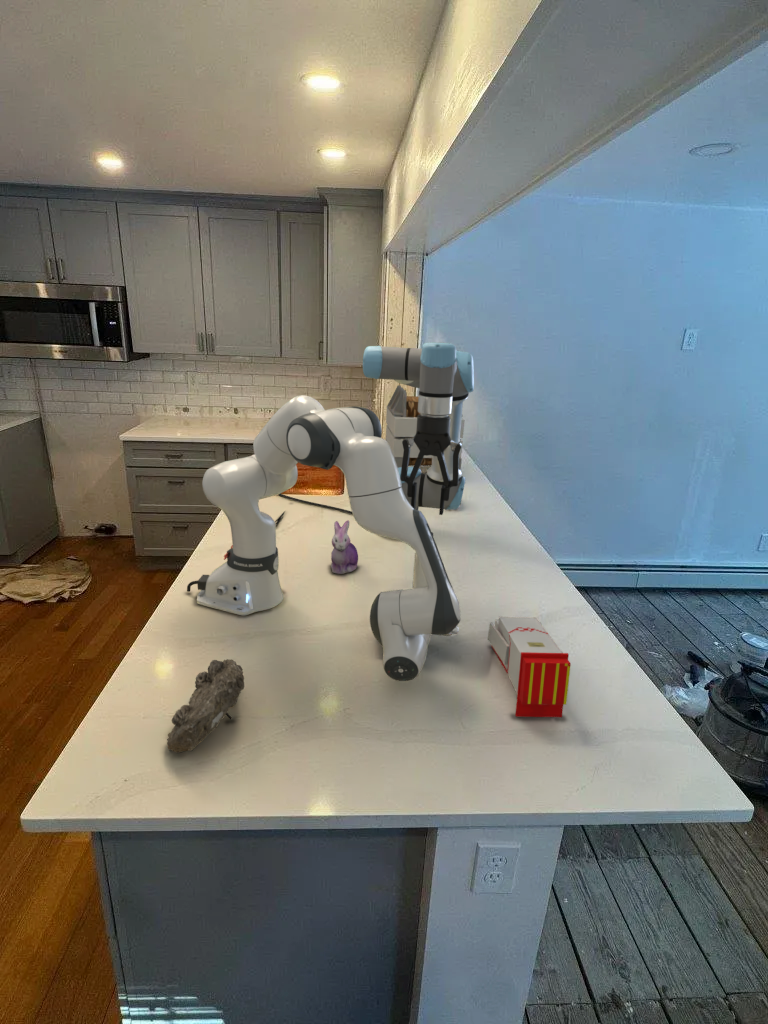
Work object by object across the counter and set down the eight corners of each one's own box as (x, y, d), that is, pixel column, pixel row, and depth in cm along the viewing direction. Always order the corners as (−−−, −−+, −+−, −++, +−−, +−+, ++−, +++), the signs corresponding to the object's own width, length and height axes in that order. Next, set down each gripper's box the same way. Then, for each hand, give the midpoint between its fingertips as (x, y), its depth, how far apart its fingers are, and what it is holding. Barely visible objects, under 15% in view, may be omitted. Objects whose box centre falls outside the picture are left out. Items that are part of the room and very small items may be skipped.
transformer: (382, 463, 289) (386, 382, 275) (445, 464, 293) (451, 384, 279) (390, 482, 257) (394, 392, 243) (460, 483, 261) (468, 394, 247)
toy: (534, 602, 136) (579, 659, 107) (529, 653, 139) (572, 723, 110) (484, 601, 136) (516, 658, 107) (480, 652, 139) (510, 722, 109)
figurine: (336, 577, 165) (336, 529, 160) (323, 563, 174) (323, 517, 169) (365, 572, 170) (367, 525, 164) (351, 558, 178) (352, 514, 173)
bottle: (408, 623, 144) (414, 536, 136) (412, 614, 148) (418, 530, 140) (425, 626, 142) (432, 539, 134) (429, 617, 146) (436, 532, 138)
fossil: (192, 660, 117) (244, 628, 112) (224, 691, 120) (276, 661, 115) (142, 746, 98) (202, 712, 93) (182, 779, 101) (242, 748, 96)
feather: (291, 505, 226) (294, 501, 225) (275, 529, 199) (277, 524, 199) (288, 503, 226) (290, 499, 225) (270, 526, 199) (273, 522, 199)
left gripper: (459, 623, 126) (462, 594, 138) (368, 611, 129) (380, 584, 142) (456, 648, 128) (460, 617, 140) (367, 635, 131) (379, 606, 144)
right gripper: (477, 415, 129) (468, 510, 137) (395, 408, 132) (390, 502, 140) (476, 420, 122) (466, 521, 130) (389, 414, 125) (384, 512, 133)
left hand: (419, 600), depth 141 cm, fingers open, 8 cm apart
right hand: (427, 511), depth 135 cm, fingers open, 6 cm apart
